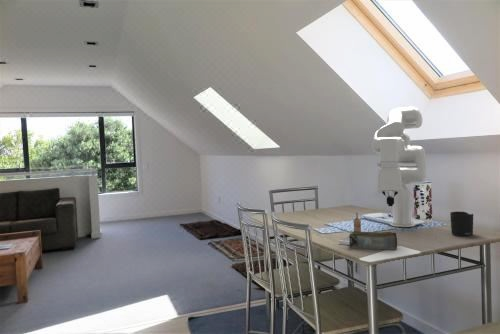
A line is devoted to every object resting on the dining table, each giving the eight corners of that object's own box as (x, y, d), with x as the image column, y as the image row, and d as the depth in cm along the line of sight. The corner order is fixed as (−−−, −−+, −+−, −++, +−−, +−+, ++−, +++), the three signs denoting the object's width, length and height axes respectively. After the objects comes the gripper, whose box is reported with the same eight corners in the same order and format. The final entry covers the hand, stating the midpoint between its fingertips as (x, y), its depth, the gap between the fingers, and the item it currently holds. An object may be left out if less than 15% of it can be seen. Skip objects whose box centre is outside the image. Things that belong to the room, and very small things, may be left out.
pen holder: (450, 236, 176) (449, 214, 176) (451, 231, 184) (450, 211, 184) (473, 237, 171) (473, 215, 171) (473, 232, 179) (473, 211, 179)
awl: (355, 232, 192) (354, 211, 192) (361, 232, 190) (361, 211, 190) (353, 233, 189) (352, 212, 189) (360, 234, 188) (359, 212, 187)
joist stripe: (344, 236, 185) (344, 235, 185) (363, 237, 181) (363, 237, 181) (334, 244, 171) (334, 243, 171) (354, 245, 167) (354, 245, 167)
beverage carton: (351, 243, 171) (351, 229, 171) (397, 246, 163) (397, 231, 163) (349, 248, 164) (348, 233, 163) (397, 251, 156) (396, 235, 156)
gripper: (370, 166, 170) (371, 206, 172) (406, 165, 164) (407, 207, 165) (373, 165, 177) (374, 204, 178) (408, 164, 170) (409, 204, 171)
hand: (390, 205), depth 171 cm, fingers closed
